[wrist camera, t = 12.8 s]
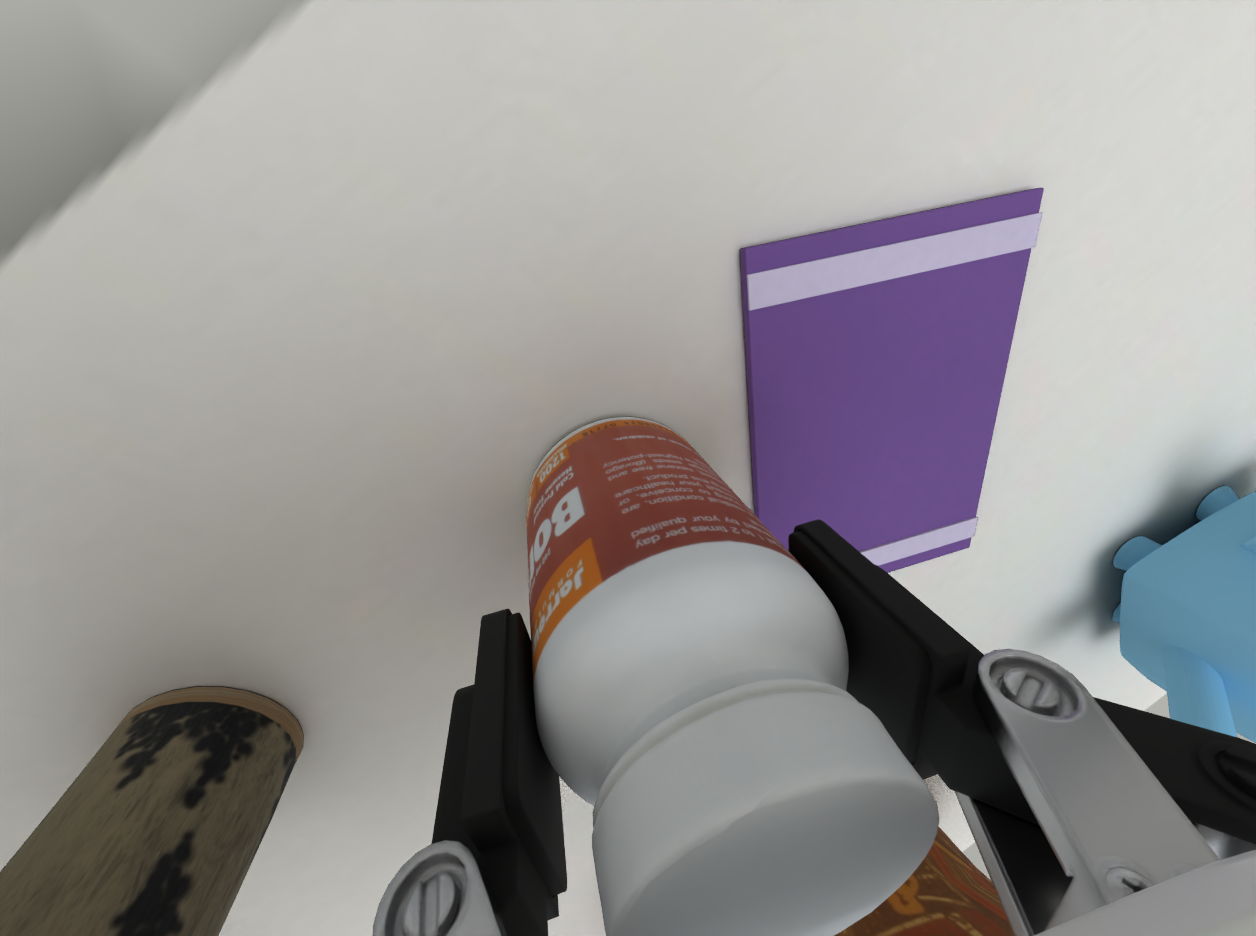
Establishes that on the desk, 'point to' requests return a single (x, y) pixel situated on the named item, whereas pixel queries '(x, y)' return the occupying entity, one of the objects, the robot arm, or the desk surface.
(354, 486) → the desk surface
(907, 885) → the bowl
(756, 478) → the towel
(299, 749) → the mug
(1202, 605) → the teapot
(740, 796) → the pill bottle
